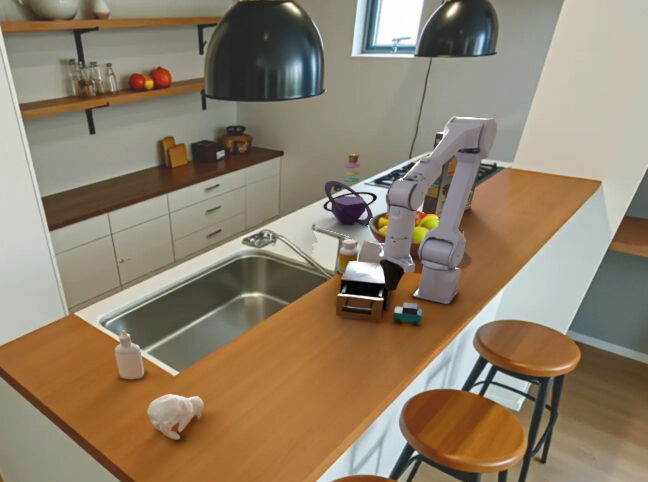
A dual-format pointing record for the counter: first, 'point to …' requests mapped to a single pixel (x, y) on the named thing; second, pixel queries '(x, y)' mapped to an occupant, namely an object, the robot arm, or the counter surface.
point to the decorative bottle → (349, 198)
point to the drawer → (360, 301)
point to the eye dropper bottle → (128, 358)
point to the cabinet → (365, 276)
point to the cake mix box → (443, 185)
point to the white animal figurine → (174, 413)
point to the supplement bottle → (347, 254)
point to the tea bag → (369, 253)
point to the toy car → (408, 313)
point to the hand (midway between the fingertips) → (390, 289)
